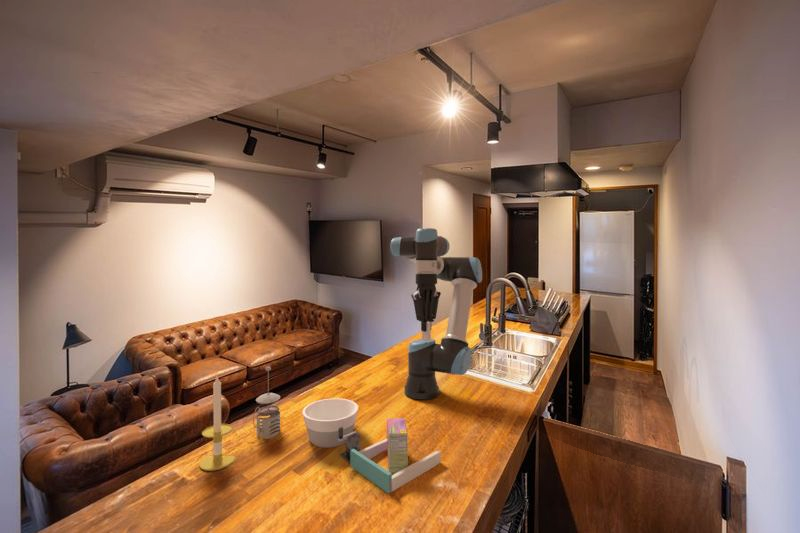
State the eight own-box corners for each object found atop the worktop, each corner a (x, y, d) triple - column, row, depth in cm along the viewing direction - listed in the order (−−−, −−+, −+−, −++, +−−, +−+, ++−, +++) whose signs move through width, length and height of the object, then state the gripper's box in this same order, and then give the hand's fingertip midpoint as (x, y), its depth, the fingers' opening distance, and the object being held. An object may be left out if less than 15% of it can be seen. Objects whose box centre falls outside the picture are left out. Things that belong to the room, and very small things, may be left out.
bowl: (309, 460, 112) (309, 425, 112) (297, 433, 129) (297, 403, 129) (367, 445, 121) (366, 413, 121) (348, 422, 138) (347, 394, 138)
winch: (333, 459, 112) (333, 425, 112) (355, 449, 118) (355, 417, 118) (344, 467, 108) (344, 432, 108) (366, 457, 114) (366, 423, 113)
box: (387, 454, 115) (386, 418, 115) (404, 454, 115) (404, 417, 115) (388, 474, 105) (388, 434, 104) (408, 473, 105) (408, 433, 105)
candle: (231, 468, 107) (230, 379, 107) (194, 472, 105) (193, 381, 105) (238, 451, 117) (238, 369, 117) (205, 454, 115) (204, 371, 114)
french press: (288, 432, 130) (288, 364, 129) (267, 448, 119) (266, 373, 118) (266, 428, 133) (266, 361, 132) (243, 443, 122) (242, 370, 121)
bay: (350, 466, 108) (350, 450, 108) (401, 442, 123) (401, 427, 123) (388, 493, 96) (388, 475, 96) (440, 463, 110) (440, 447, 110)
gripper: (421, 273, 118) (421, 345, 118) (446, 272, 127) (446, 339, 127) (405, 273, 123) (405, 341, 124) (430, 272, 132) (430, 335, 133)
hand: (426, 340), depth 125 cm, fingers closed
